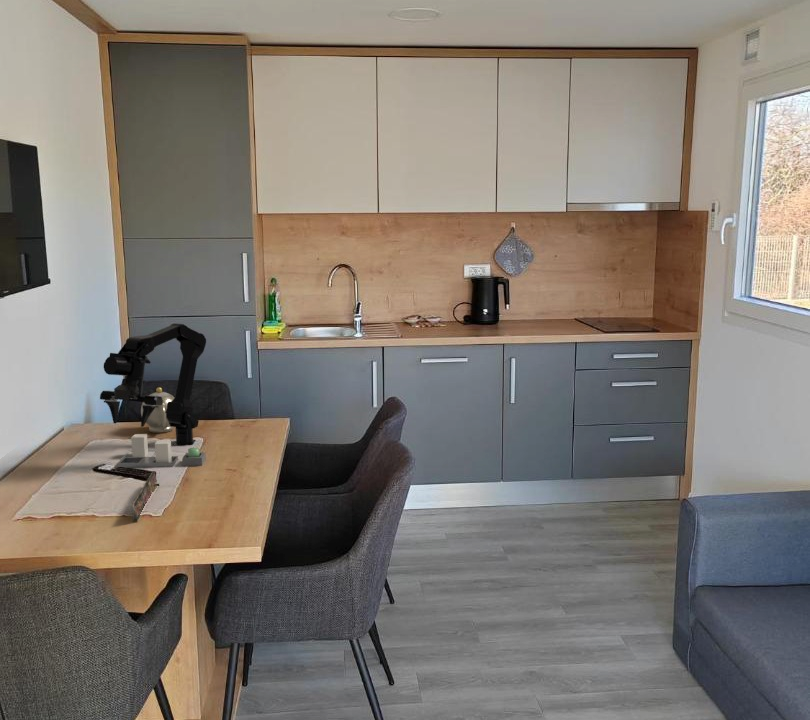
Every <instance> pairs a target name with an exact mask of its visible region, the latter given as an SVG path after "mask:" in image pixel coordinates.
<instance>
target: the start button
mask: <svg viewBox="0 0 810 720" xmlns="http://www.w3.org/2000/svg"><path fill="white" fill-rule="evenodd" d="M187 453H188V457H200V455H199V453H200V447H199V448H198V447H190V448H188V449H187Z"/></svg>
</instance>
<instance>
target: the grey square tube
mask: <svg viewBox="0 0 810 720" xmlns="http://www.w3.org/2000/svg"><path fill="white" fill-rule="evenodd" d="M199 455H200V457H188V452H186V453H185V454H184V456H183V457H182V461H181V462H182V466H183V467H198V466H199V467H202V466H203V465H204V463H205V462H206V461H207V460H206V458H207V457H206V452H199Z"/></svg>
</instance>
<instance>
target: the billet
mask: <svg viewBox="0 0 810 720" xmlns="http://www.w3.org/2000/svg"><path fill="white" fill-rule="evenodd" d="M130 441H131V442H130V443H131V450H132V452H131V454H132V456H131V457H147V455H148V454H149V451H148V450H149V448H148V447H149V446H148V445H149V444H148V433H137V434H136V433H135V434H134V435H132V436H131V440H130Z"/></svg>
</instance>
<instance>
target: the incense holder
mask: <svg viewBox="0 0 810 720" xmlns="http://www.w3.org/2000/svg"><path fill="white" fill-rule="evenodd" d="M159 484H160V483H158V481H157V477H156V471H155V470H153V471H152V472H151V474H150V475H149V476H148V478H147V479H146V481H145V483H144V484H143V486H142V488H141V489H140V491H139V493H138V494H137V496H136V498H135V499H134V501H133V503H132V520H133V521H132V522H133V523H138V521H140V519H141V518H142V516H143V514H142V515H140V514H141V512H142V510H143V508H144V506H145V504H146V503H147V501H148V499H149V498H150V496H151V494H152V492H154V491H155V489H156V488H157V486H159V487H160V485H159Z"/></svg>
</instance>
